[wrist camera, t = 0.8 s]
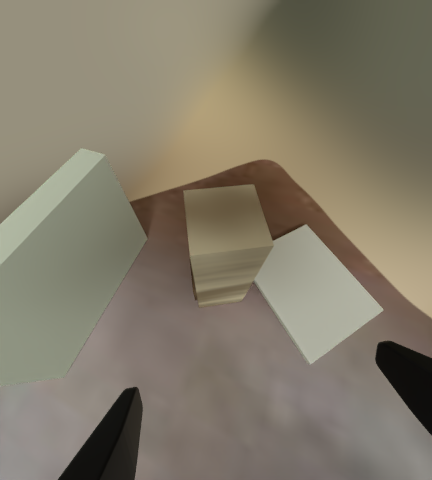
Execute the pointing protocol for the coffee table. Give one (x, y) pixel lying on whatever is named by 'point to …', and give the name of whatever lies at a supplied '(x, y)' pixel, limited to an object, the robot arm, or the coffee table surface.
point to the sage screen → (62, 267)
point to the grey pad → (313, 293)
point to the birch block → (225, 242)
